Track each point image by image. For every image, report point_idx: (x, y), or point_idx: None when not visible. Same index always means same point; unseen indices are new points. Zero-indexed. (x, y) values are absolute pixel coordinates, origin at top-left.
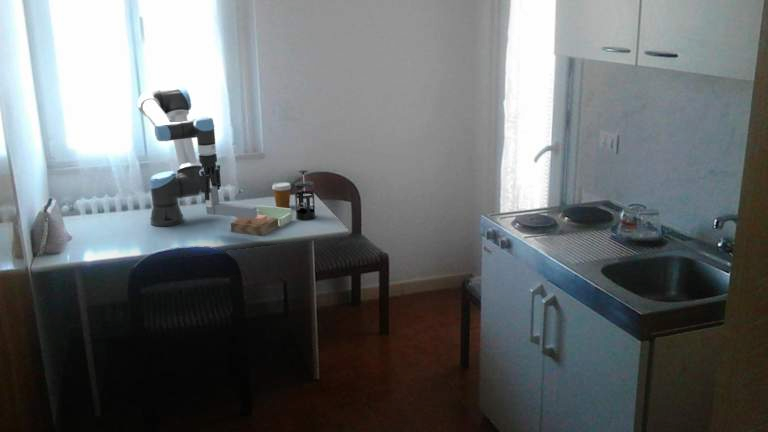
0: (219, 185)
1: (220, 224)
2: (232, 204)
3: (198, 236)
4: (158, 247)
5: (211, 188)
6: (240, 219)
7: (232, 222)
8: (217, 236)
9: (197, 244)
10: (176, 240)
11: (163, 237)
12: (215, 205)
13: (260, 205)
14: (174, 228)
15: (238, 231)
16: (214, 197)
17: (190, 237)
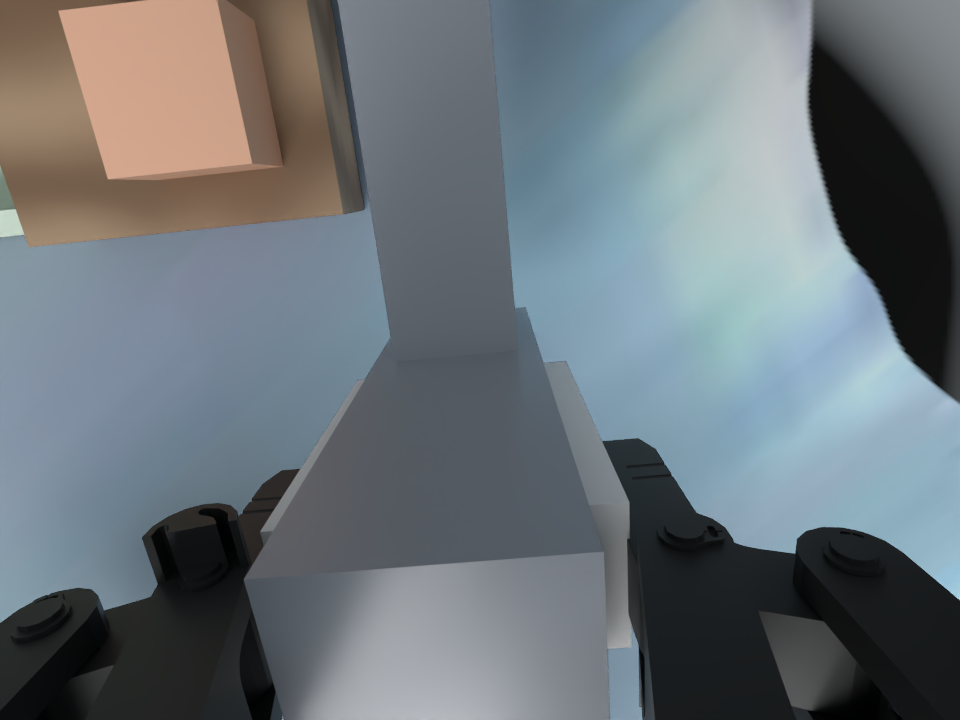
0: (56, 635)
1: (268, 432)
2: (338, 4)
3: (606, 380)
4: (941, 471)
5: (602, 570)
6: (256, 101)
7: (321, 201)
8: (540, 226)
9: (794, 237)
10: (753, 466)
11: None
12: (515, 321)
13: None
14: None
15: (347, 117)
16: (489, 404)
17: (652, 420)
